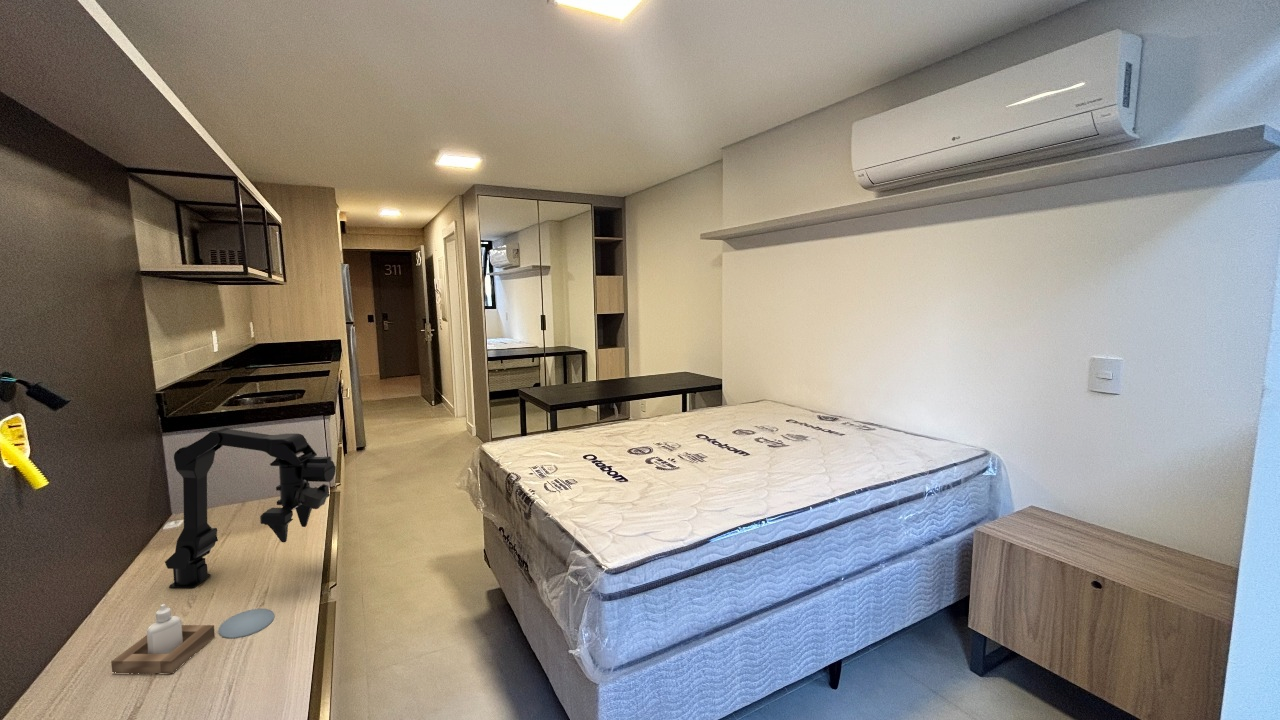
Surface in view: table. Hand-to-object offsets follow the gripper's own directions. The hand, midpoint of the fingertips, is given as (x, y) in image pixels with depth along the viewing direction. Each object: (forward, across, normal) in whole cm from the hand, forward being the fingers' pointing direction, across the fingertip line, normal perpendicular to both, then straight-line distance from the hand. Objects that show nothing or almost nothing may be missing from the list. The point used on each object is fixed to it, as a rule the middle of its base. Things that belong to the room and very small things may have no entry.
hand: (294, 534), depth 142 cm
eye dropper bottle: (+15, -29, +11) cm, 34 cm away
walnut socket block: (+15, -29, +11) cm, 34 cm away
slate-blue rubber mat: (+15, -18, +1) cm, 23 cm away
